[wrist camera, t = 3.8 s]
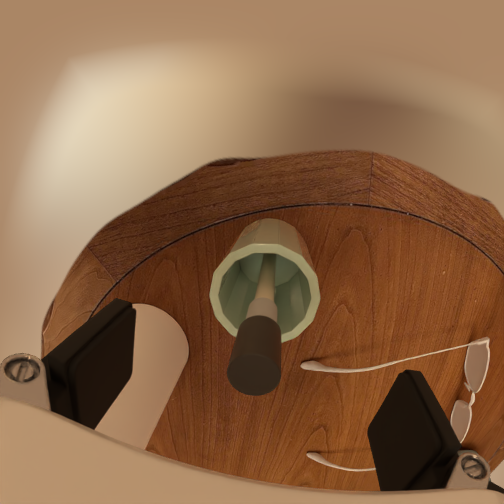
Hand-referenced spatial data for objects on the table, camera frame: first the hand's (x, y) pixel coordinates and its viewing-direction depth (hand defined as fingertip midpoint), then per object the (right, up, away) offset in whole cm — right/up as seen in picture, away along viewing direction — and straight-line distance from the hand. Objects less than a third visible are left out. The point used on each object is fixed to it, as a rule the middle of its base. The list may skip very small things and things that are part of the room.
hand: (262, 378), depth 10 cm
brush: (+1, +4, +15) cm, 16 cm away
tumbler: (+1, +4, +16) cm, 16 cm away
